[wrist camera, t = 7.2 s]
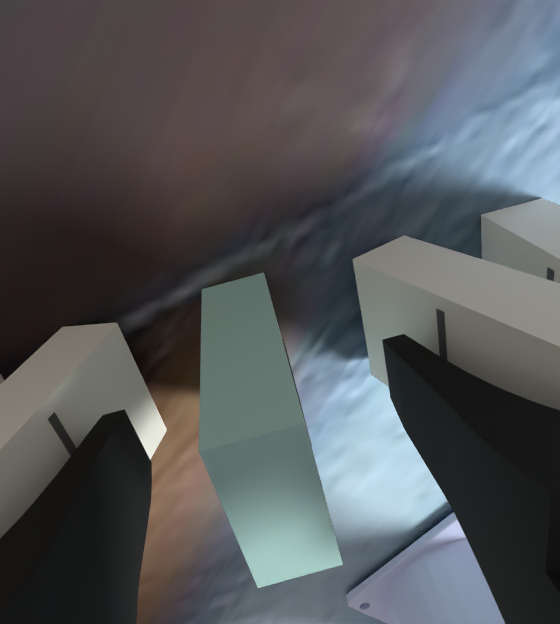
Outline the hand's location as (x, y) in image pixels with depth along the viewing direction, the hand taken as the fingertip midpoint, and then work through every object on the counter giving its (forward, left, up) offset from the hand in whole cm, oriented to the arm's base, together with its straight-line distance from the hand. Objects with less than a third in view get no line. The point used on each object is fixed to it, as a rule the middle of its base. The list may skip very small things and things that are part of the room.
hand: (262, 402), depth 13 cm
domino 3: (-3, -4, -3) cm, 5 cm away
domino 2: (0, 0, -3) cm, 3 cm away
